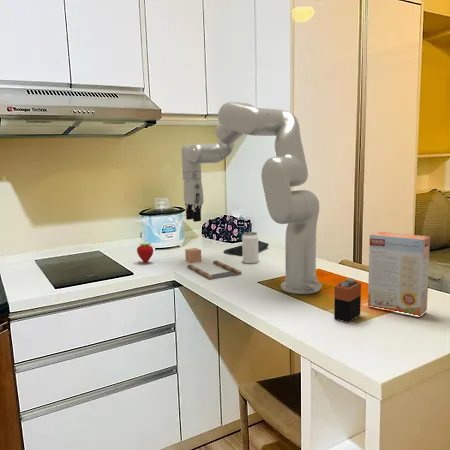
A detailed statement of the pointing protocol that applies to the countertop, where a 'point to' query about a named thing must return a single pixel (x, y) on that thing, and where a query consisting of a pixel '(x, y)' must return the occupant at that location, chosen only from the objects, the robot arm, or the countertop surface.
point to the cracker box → (398, 272)
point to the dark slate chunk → (238, 249)
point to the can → (250, 247)
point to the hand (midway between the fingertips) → (193, 219)
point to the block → (193, 255)
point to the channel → (219, 275)
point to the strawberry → (145, 252)
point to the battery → (347, 300)
